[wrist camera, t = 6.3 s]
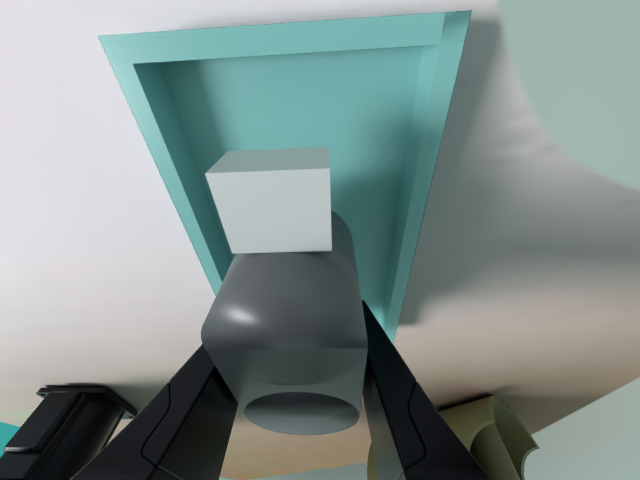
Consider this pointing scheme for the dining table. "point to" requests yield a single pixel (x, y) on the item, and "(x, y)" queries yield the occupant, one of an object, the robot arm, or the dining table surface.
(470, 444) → the piston
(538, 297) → the dining table surface
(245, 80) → the tray
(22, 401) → the dining table surface
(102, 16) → the dining table surface
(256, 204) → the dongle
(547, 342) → the dining table surface
